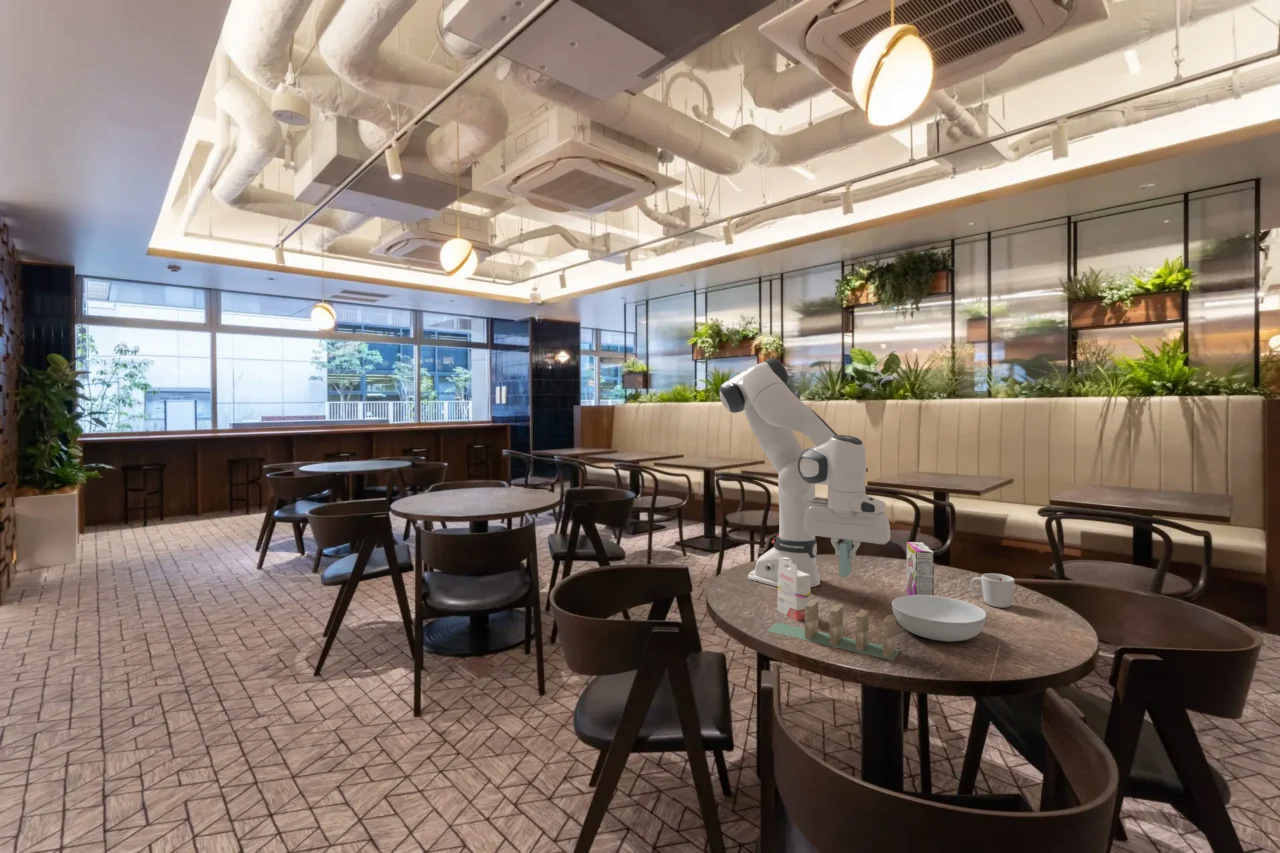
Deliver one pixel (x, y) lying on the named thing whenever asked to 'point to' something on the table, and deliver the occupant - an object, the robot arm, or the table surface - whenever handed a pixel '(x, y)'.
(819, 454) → the robot arm
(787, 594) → the ink cartridge box
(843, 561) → the domino
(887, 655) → the domino
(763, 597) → the table surface
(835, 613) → the domino
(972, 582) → the cup
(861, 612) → the domino
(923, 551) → the candy bar box
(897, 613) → the serving bowl
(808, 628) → the domino
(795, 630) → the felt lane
